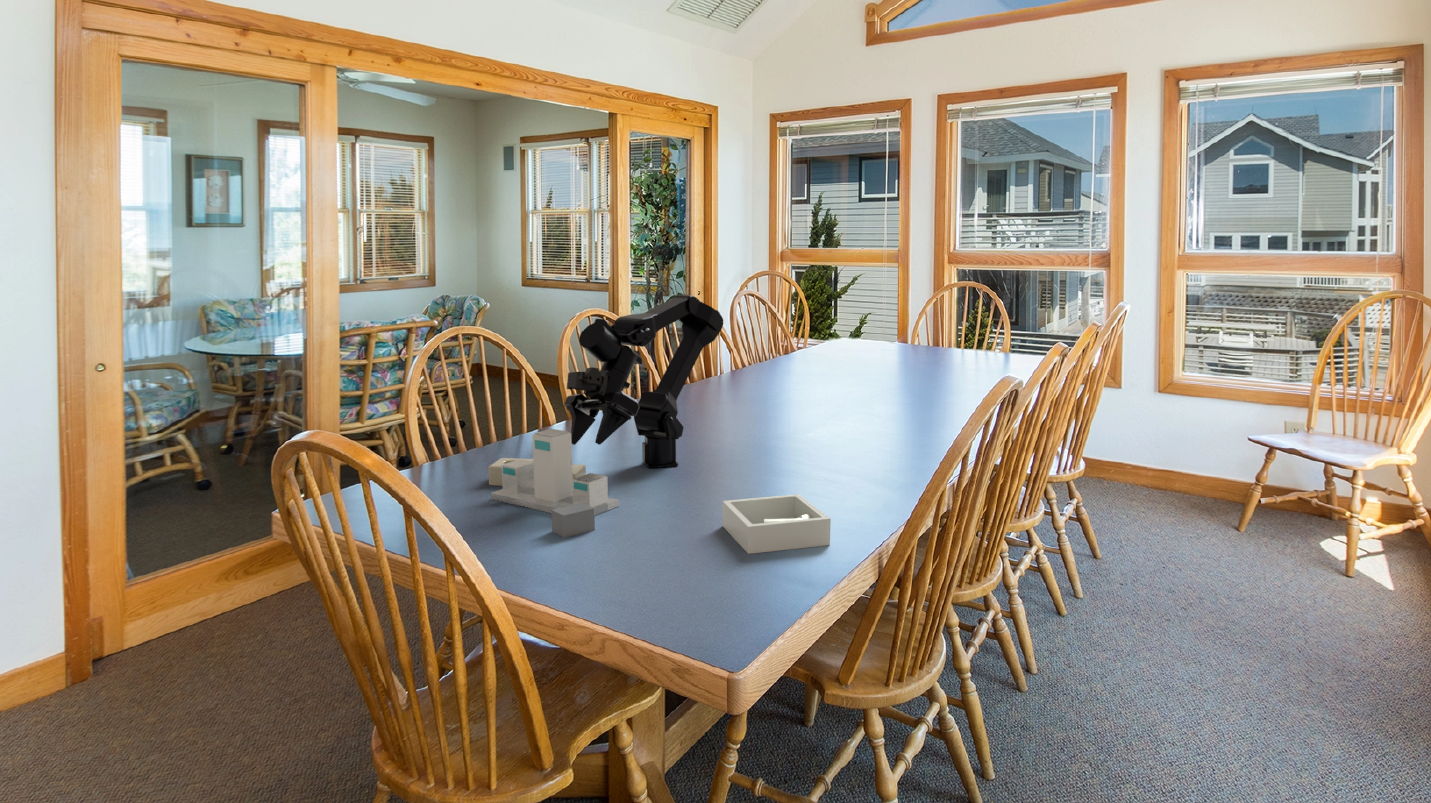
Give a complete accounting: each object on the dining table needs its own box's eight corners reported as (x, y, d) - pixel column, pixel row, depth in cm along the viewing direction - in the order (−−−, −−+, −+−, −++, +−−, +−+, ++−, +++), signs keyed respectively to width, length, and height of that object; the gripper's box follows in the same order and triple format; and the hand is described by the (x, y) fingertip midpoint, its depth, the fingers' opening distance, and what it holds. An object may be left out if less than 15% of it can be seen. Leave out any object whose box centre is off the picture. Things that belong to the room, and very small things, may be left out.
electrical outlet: (575, 469, 179) (487, 466, 182) (576, 489, 180) (488, 486, 182) (585, 460, 186) (500, 457, 189) (585, 479, 187) (501, 476, 189)
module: (553, 490, 174) (551, 428, 172) (573, 495, 171) (571, 431, 169) (534, 497, 170) (531, 433, 167) (554, 502, 167) (551, 436, 165)
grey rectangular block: (582, 524, 159) (581, 502, 158) (594, 530, 156) (594, 508, 155) (552, 532, 155) (551, 509, 154) (564, 538, 152) (563, 515, 151)
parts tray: (798, 518, 162) (798, 494, 161) (829, 545, 148) (830, 518, 148) (722, 525, 158) (722, 500, 157) (748, 553, 145) (748, 526, 144)
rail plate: (529, 486, 181) (527, 456, 180) (619, 505, 169) (618, 473, 168) (491, 498, 173) (489, 467, 172) (582, 520, 161) (581, 486, 159)
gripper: (559, 357, 185) (528, 426, 180) (609, 349, 170) (577, 424, 165) (601, 383, 191) (572, 450, 186) (653, 377, 176) (623, 450, 171)
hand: (584, 443), depth 177 cm, fingers open, 9 cm apart
